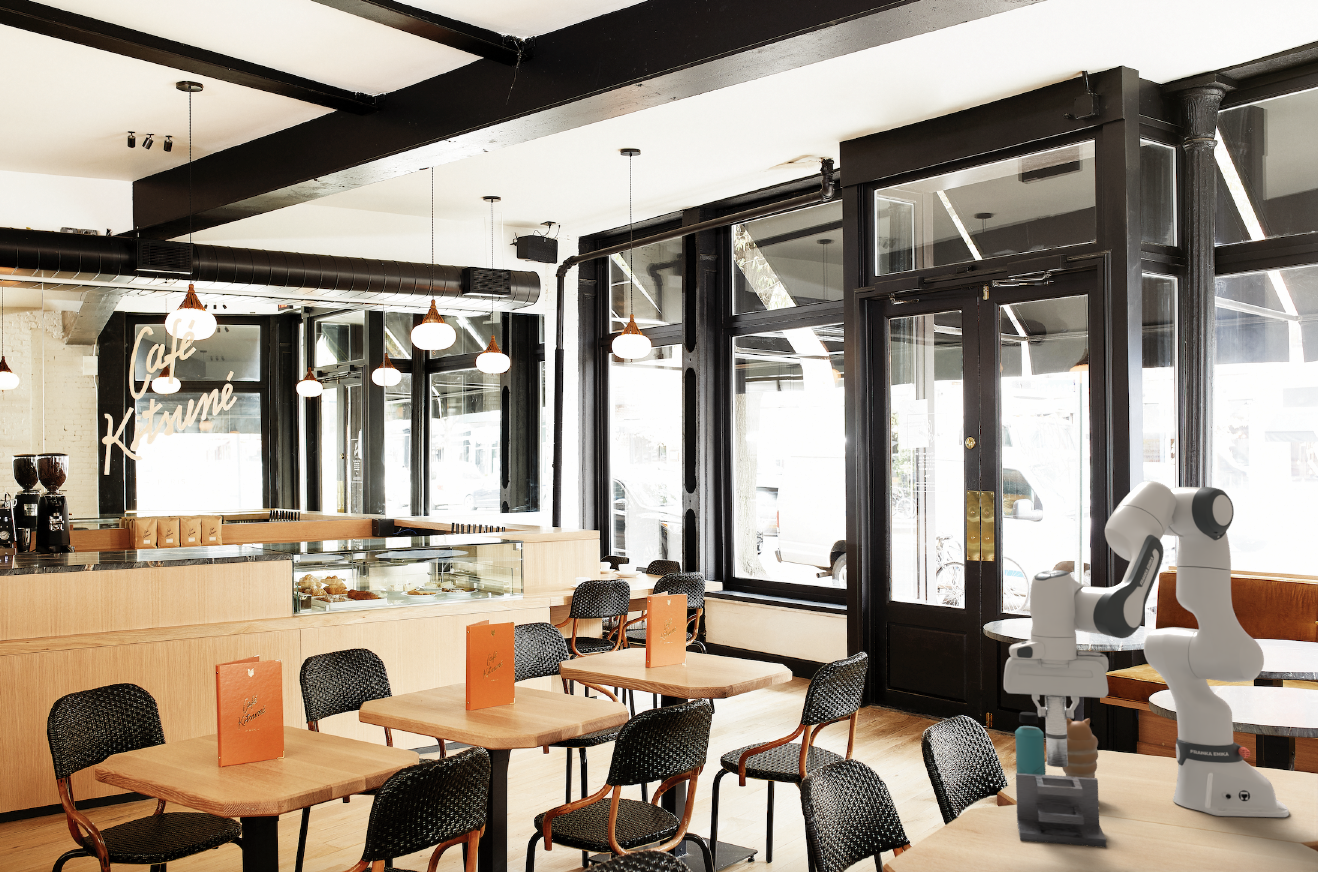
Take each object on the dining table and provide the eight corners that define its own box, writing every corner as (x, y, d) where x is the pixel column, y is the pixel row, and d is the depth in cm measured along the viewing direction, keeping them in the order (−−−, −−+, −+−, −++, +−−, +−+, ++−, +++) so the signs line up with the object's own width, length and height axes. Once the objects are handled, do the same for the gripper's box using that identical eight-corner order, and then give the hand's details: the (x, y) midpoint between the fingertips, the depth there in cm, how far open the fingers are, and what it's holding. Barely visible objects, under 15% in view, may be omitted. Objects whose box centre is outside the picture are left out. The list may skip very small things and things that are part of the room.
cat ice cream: (1097, 793, 239) (1094, 715, 240) (1103, 802, 231) (1100, 722, 232) (1057, 791, 241) (1054, 714, 242) (1062, 800, 233) (1059, 720, 234)
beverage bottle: (1049, 806, 228) (1046, 715, 230) (1018, 804, 230) (1015, 714, 231) (1044, 798, 235) (1041, 710, 236) (1014, 797, 236) (1011, 709, 238)
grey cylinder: (1067, 763, 211) (1065, 694, 212) (1069, 767, 207) (1067, 697, 208) (1045, 761, 212) (1043, 693, 213) (1047, 766, 208) (1045, 696, 209)
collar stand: (1098, 829, 212) (1096, 777, 212) (1106, 847, 200) (1104, 792, 201) (1017, 823, 216) (1015, 772, 217) (1020, 840, 205) (1018, 787, 206)
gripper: (1105, 649, 211) (1108, 717, 210) (1002, 645, 217) (1003, 711, 216) (1110, 653, 205) (1112, 723, 204) (1003, 649, 211) (1005, 717, 210)
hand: (1055, 717), depth 210 cm, fingers closed on grey cylinder, 4 cm apart
